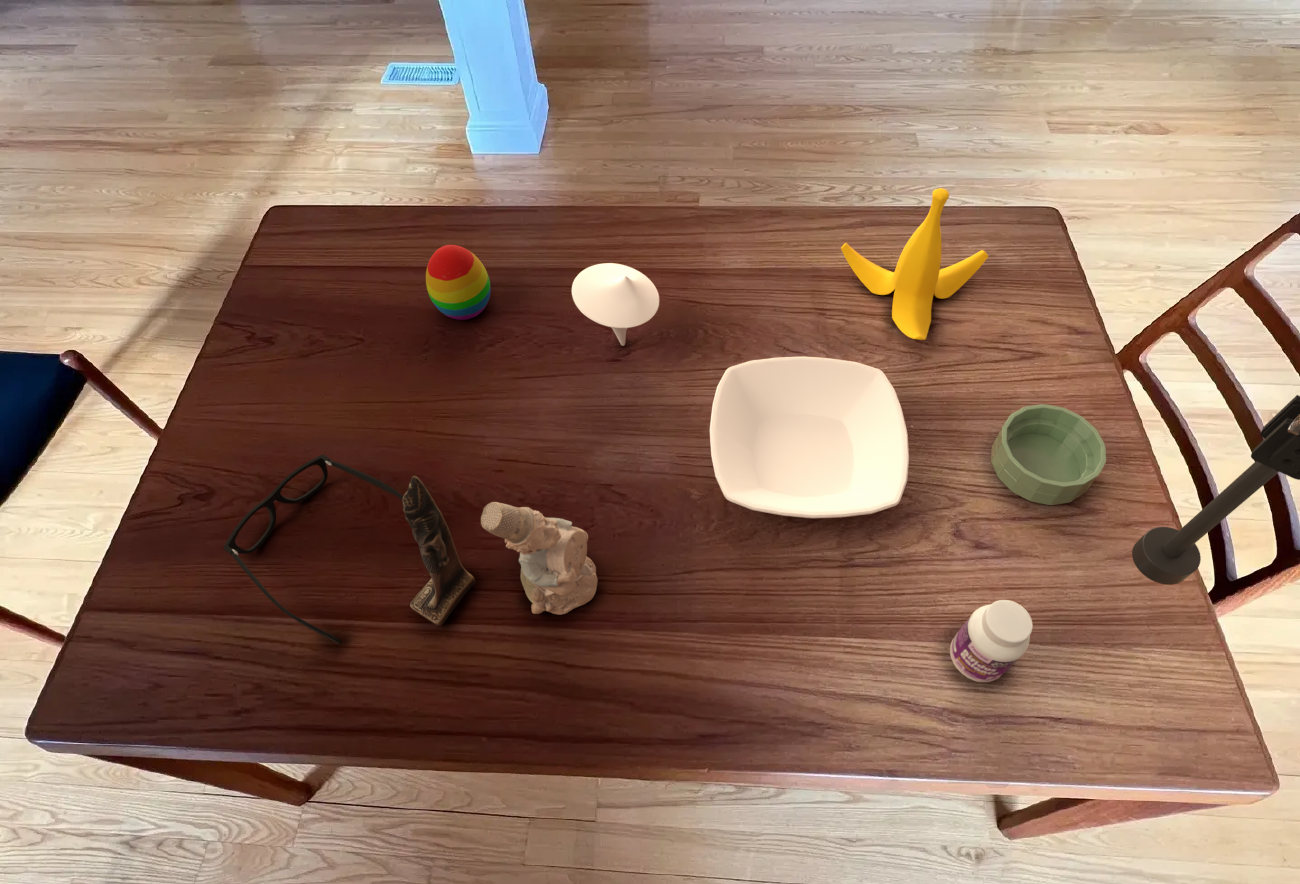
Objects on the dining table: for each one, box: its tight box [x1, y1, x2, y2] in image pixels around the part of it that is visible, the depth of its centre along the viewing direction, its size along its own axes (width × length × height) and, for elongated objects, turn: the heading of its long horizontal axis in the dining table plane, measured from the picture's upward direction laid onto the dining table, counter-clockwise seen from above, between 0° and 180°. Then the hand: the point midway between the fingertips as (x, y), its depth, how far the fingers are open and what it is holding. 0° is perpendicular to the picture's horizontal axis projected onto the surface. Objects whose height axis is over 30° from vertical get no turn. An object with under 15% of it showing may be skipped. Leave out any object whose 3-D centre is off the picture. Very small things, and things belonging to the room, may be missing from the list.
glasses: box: [223, 453, 404, 645], centre depth 86 cm, size 17×18×5 cm
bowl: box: [709, 356, 910, 519], centre depth 89 cm, size 22×22×5 cm
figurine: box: [480, 501, 599, 616], centre depth 76 cm, size 9×8×20 cm
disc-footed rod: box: [1131, 460, 1280, 586], centre depth 57 cm, size 4×4×22 cm
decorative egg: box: [425, 244, 492, 321], centre depth 104 cm, size 8×8×10 cm
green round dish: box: [990, 403, 1107, 506], centre depth 87 cm, size 11×11×4 cm
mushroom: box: [571, 262, 660, 347], centre depth 98 cm, size 10×11×12 cm
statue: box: [401, 475, 476, 627], centre depth 76 cm, size 4×7×20 cm, turn 149°
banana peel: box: [840, 187, 989, 341], centre depth 97 cm, size 17×19×17 cm
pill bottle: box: [949, 599, 1034, 683], centre depth 74 cm, size 5×5×10 cm
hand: (1281, 454), depth 53 cm, fingers closed on disc-footed rod, 1 cm apart
